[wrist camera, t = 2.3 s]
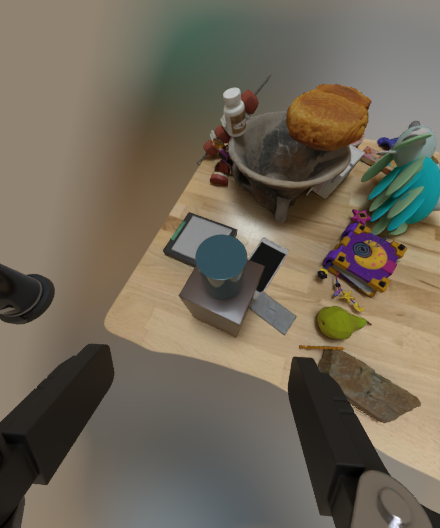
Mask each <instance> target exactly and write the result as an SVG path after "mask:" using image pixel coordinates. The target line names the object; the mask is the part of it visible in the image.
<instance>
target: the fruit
mask: <svg viewBox="0 0 440 528" xmlns="http://www.w3.org/2000/svg"><path fill="white" fill-rule="evenodd" d="M317 321H318V325H319V327H320V329H321V332H322V333H323V334H325V335H326V336H328V337H329V338H332V339H348V338H349V337H350V336H351V334H352V333H353V332H354V331H356V330H358V329H361V328H362V327H364V326H365V325H366V323H368V324H370V325H372V324H371V323H369V322H368V321H366V320H365V319H364V318H361V317H358V316H355V315H352V314H350V313H348V312H347V311H346V310H344V309H342V308H340V307H338V306H332V307H326V308H323V309H322V310H321V311H320V312H319V314H318V316H317Z"/></svg>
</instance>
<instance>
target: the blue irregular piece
mask: <svg viewBox="0 0 440 528" xmlns="http://www.w3.org/2000/svg"><path fill="white" fill-rule="evenodd" d="M398 138H399V137H398ZM398 138H394V139H388V138H385V137H384V138H380V139H379V140H378V141H377V143H378V144H379V145H378V146H382V145H386V144H388V145H389V151H390V149H391V147H392V145H393V144H395V143H396V141H397V139H398Z"/></svg>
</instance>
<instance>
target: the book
mask: <svg viewBox="0 0 440 528" xmlns="http://www.w3.org/2000/svg"><path fill="white" fill-rule="evenodd" d="M352 212H353V214H354V217H353V218H352V219H351V220H353V221H356V222H355V223H353V224H350V225H348V226H347V228H346V229H345V231H344V232H343V234H342V240H341V242H340V243H339V244H337V245H336V247H335V248H334V250H332V251H330V252H329V253H328V255H327V256H326V258H325V259H324V261H323V264H324V266H325V268H321V269H320V270H321V271H318V277H319V278H321V279H324V278H327V274H328V271H330V272H332V273H333V274H335V275H336V284H335V285H336V287H338V289H339V287H340V286H341V285H340V284H339V283H338V281H337V276H338V275H339V276H341V277H342V278H344V279H346V280H347V281H349V282H351V283H352V284H354V285H355V286H357V287H359V290H360V291H361V292H363V293H364V294H366V295H368V296H369V297H373V296H374V295H375V293H376V291H379V292H380V293H382V292H384V291H385V290H386V288H387V286H388V284H389V282H390V280H389V279H387V278H388V277H389V276H390V275H392V273H393V271H394V269H395V267H396V266H397V264H396V262H400V261H399V260H398V259H400V258H402V257H403V255H404V253H405V251H406V250H407V247H405V246H404V245H402V244H399V243H397V242H395V241H393V242H391V243H389V242H387V241H385V240H386V238H387V237H386V238H382V239H381V238H379V236H378V237H377V236H375V235H374V234H372V233H370V231H371V229H370V228H368V227H366V226H364V224H365V221H370V220H371V219H372V218H371V217H369V216H367V210H364V211H362V212H360V211H357V210H355V209H353V210H352ZM388 238H389V237H388ZM383 239H384V240H383ZM327 270H328V271H327ZM340 289H341V287H340ZM341 291H342V293H343V295H344V296H342V297H341V298H344V299H346V301H347V303H349V300H351V299H355V298H353V297H352V296H351V291H350V292H349V293H346V292H345V291H343V290H342V289H341ZM339 292H340V290H338V291H336V292H335V293H334V296H337V295H338V294H339ZM351 301H352V300H351ZM352 302H353V301H352ZM353 303H354V307H355V309H356V310H357V311H359V312H363V311H364V307H363V308H360V307H359V306H358V303H355V302H353Z"/></svg>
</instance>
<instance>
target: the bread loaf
mask: <svg viewBox="0 0 440 528" xmlns="http://www.w3.org/2000/svg"><path fill="white" fill-rule="evenodd" d="M370 103H371V100H370V99H369V98H368V97H365V96H364V95H363V94H362V93H361V92H359V91H358V90H356V89H355V88H352V87H346V86H341V85H338V84H334V85H326V84H322V85H319V86H317V87H316V90H310V91H309V92H307V93H305V92H304V93H303V95H300V96H299V97H298V98H296V99H295V100H294V101H293V103H292V104H291V106H290V107H289V108H288V110H287V118H286V125H287V128H288V130H289V136H290V137H291V138H292V139H293V140H295V141H296V142H298V143H301V144H302V145H305V146H307V147H309V148H312V149H315V150H323V151H329V152H333V151H334V150H337V149H340V148H341V147H346V146H347V145H350V144H351V143H354V142H356V141H358V140H359V139H360V138H361V137H362V135H363V133H364V131H365V128H366V126H367V123H368V109H369V106H370Z"/></svg>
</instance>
